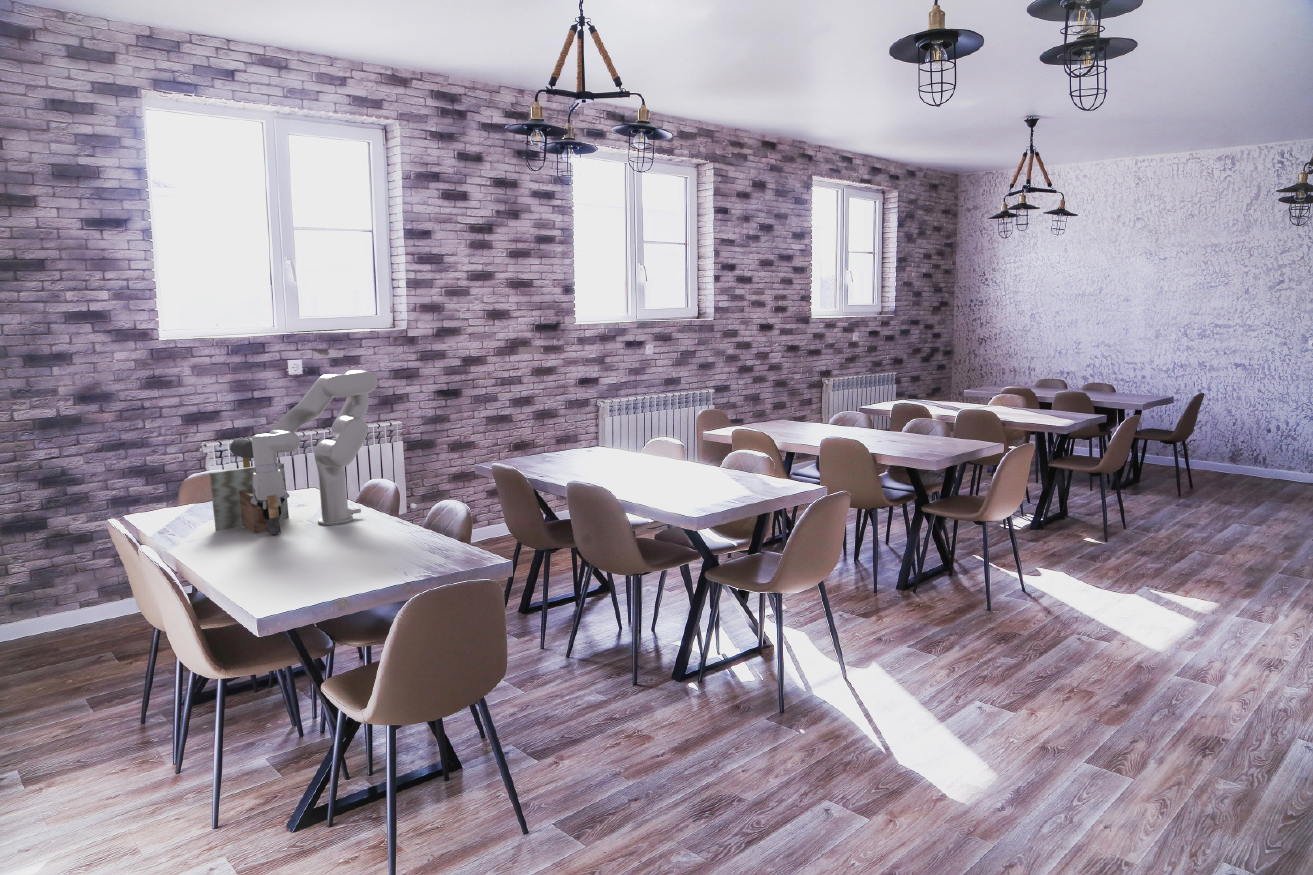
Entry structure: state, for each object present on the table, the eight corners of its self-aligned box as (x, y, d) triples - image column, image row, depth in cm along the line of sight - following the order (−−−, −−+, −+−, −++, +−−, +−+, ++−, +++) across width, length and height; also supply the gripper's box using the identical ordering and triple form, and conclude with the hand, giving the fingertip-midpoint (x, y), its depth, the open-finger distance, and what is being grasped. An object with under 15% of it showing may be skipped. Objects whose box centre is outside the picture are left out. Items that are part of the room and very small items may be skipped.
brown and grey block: (276, 530, 312) (272, 493, 309) (281, 532, 308) (276, 495, 306) (267, 532, 309) (262, 494, 307) (272, 534, 306) (267, 496, 303)
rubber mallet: (267, 512, 343) (260, 439, 339) (249, 516, 338) (241, 441, 333) (253, 508, 351) (246, 436, 347) (235, 512, 346) (227, 439, 341)
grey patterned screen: (287, 517, 334) (281, 462, 330) (301, 524, 322) (296, 467, 319) (215, 530, 317) (209, 472, 313) (228, 538, 305) (222, 478, 301)
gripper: (286, 463, 313) (292, 511, 316) (239, 470, 302) (245, 520, 305) (293, 465, 307) (299, 514, 310) (245, 473, 296) (251, 524, 300)
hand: (272, 517), depth 308 cm, fingers closed on brown and grey block, 3 cm apart
